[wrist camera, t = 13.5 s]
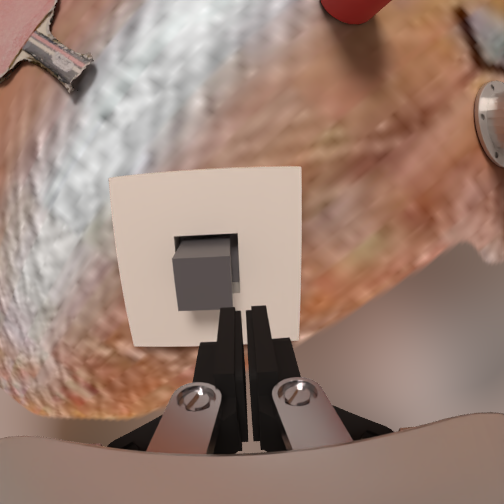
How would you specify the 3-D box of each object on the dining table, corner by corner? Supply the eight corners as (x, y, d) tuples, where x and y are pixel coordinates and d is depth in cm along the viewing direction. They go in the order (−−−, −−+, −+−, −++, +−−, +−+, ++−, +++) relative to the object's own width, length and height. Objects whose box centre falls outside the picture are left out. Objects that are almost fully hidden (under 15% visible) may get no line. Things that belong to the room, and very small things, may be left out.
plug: (229, 233, 33) (229, 255, 25) (232, 275, 34) (232, 308, 26) (185, 235, 33) (171, 258, 25) (189, 277, 34) (178, 311, 26)
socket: (293, 166, 32) (301, 166, 28) (292, 324, 37) (298, 340, 33) (120, 176, 31) (108, 178, 27) (141, 330, 36) (134, 346, 32)
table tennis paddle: (37, -46, 20) (28, -54, 17) (108, 70, 28) (98, 63, 25) (-43, 35, 22) (-54, 31, 19) (5, 168, 29) (-8, 169, 26)
